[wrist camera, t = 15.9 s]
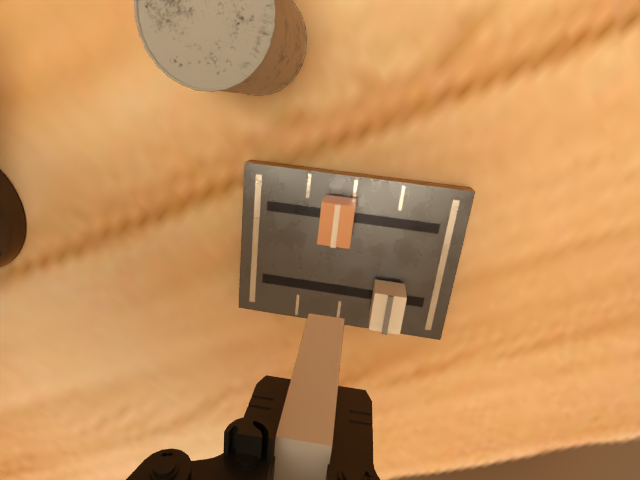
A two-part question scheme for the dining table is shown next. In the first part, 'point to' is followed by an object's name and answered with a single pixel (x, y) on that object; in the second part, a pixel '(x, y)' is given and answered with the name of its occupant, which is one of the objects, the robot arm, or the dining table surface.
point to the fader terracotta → (336, 221)
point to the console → (365, 248)
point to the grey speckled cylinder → (224, 42)
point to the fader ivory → (387, 307)
